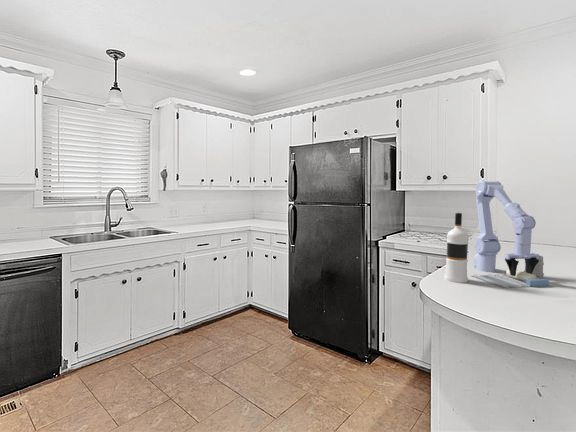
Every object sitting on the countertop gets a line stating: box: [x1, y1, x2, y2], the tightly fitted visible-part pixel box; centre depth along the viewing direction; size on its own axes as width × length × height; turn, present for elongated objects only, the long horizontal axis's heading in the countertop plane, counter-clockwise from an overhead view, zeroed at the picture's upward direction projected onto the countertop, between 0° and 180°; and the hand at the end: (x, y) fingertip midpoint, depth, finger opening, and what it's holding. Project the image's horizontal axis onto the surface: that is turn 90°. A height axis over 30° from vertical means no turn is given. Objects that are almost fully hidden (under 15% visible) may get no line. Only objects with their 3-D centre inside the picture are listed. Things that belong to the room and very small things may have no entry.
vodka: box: [443, 212, 470, 284], centre depth 149 cm, size 9×9×30 cm
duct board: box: [471, 273, 553, 289], centre depth 149 cm, size 20×22×4 cm
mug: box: [523, 252, 545, 279], centre depth 158 cm, size 8×12×12 cm, turn 139°
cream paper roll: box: [505, 268, 538, 282], centre depth 149 cm, size 12×4×4 cm, turn 8°
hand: (520, 275), depth 150 cm, fingers open, 7 cm apart
